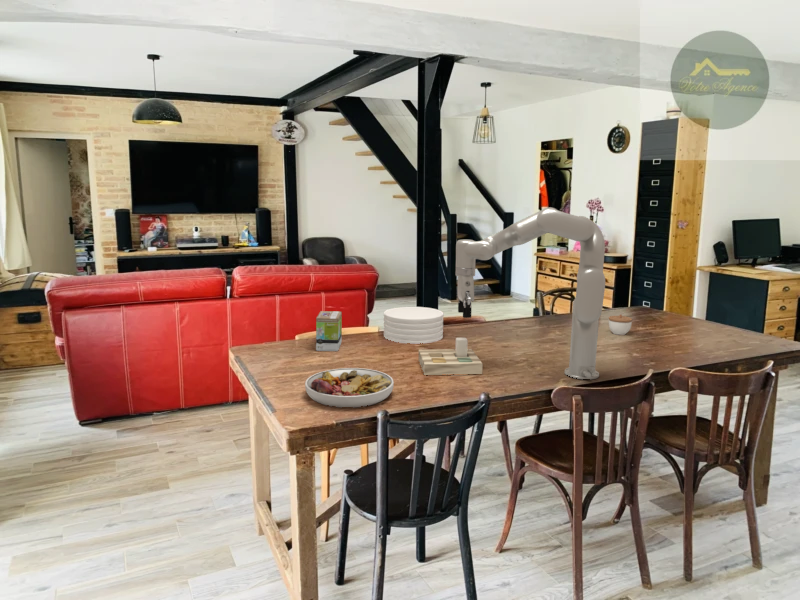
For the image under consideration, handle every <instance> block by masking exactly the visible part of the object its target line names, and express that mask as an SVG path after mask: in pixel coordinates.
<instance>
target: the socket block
mask: <svg viewBox="0 0 800 600" xmlns="http://www.w3.org/2000/svg"><path fill="white" fill-rule="evenodd" d="M419 362H420V363H419ZM418 363H419V366H420V365H421V366H420V367H422V368H421V371H422V370H423V371H422V373H423V372H424V373H423V376H424V375H442V374H446V375H447V374H448V375H449V374H482V375H483V362H482V360H481V359H480V358H479V356H477V354H476V353H475V351H474V350H473V349H472V348H467V357H455V349H449V348H448V349H446V348H445V349H418Z"/></svg>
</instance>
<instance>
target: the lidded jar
mask: <svg viewBox="0 0 800 600" xmlns="http://www.w3.org/2000/svg"><path fill="white" fill-rule="evenodd" d="M632 323H633V318H631V317H630V316H625V315H622V314H619V315H610V316H609V317H608V327H609V328H608V329H609V330H610V331H611V332H612V334H613V335H618V336H625V335H626V334H627V333H628V332H629V331H630V330H631V329H632Z"/></svg>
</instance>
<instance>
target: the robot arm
mask: <svg viewBox="0 0 800 600" xmlns="http://www.w3.org/2000/svg"><path fill="white" fill-rule="evenodd" d="M548 233H549V234H551V235H555V236H558V237H561V238H564V239H568V240H572V241H575V242H579V246H580V250H579V251H580V253H579V263H578V269H577V274H576V289H575V290H576V291H575V292H576V293H575V298H574V299H573V301H572V311H571V313H572V315H571V316H572V317H571V318H572V319H571V332H570V333H571V334H570V348H569V349H570V350H569V364H568V365H569V366H568V367H566V368H565V369H564V375H565V376H567V375H568V376H567V377H569V376H570V378H572V377H573V378H572V379H576V378H577V379H576V380H583V379H590V380H595V379H598V378H599V377H600V372H599V371H598V370H596V365H597V364H596V363H597V349H598V336H599V320H600V317H601V315H602V312H603V306H604V297H605V289H606V276H605V274H604V264H605V263H604V262H605V247H606V243H605V237H604V235H603V233H602V230H601V229H600V227H599V226H598V225H597V224H596V223H595V222H594V221H593V220H591V219H589V218H588V217H586V216H583V215H579V216H578V215H574V214H571V213H567V212H563V211H561V210H558V209H557V208H555V207H551V206H550V207H549V206H548V207H545V208H543V209H541V210H538V211H536V212H535V213H533V214H531V215H528V216H526V217H525V218H522V219H520V220H519V221H516V222H514V223H512V224H511V225H509V226H507V227H506V228H504V229H502V230H500V231H498V232H495V233H492V234H491V235H490V236H487V237H485V238H484V239H482V240H478V241H476V240H473V239H458V240H456V244H455V277H457V298H458V302H457V306H458V307H457V312H458V313H460V314H462V318H463V319H465V318H466V319H469V318H470V319H471V318H472V303H473V302H474V301H475V283H474V277H475V276H476V260H480V261H488V260H490V259H492V258H493V257H494V256H495V255H497V254H499V253H501V252H503V251H505V250H508V249H510V248H513V247H516V246H521V245H525V244H526V243H528V242H529V243H530V242H532V241H533V240H534V239H537V238H539V237H542V236H543V235H544V236H545V234H548Z"/></svg>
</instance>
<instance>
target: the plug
mask: <svg viewBox="0 0 800 600" xmlns="http://www.w3.org/2000/svg"><path fill="white" fill-rule="evenodd" d="M468 344H469V343H468V339H467V337H455V357H467V349H468Z"/></svg>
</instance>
